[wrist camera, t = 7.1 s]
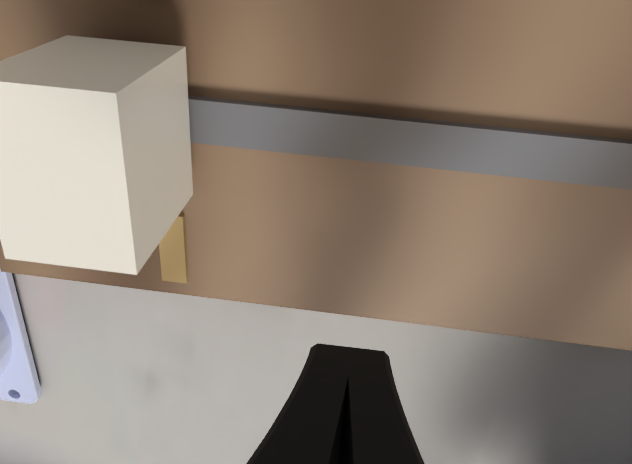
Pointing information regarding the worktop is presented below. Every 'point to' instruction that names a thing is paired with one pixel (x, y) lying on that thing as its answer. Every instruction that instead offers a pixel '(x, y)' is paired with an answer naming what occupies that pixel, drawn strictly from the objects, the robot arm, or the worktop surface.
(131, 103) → the fader tab
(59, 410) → the worktop surface
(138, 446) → the worktop surface
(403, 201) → the fader console
